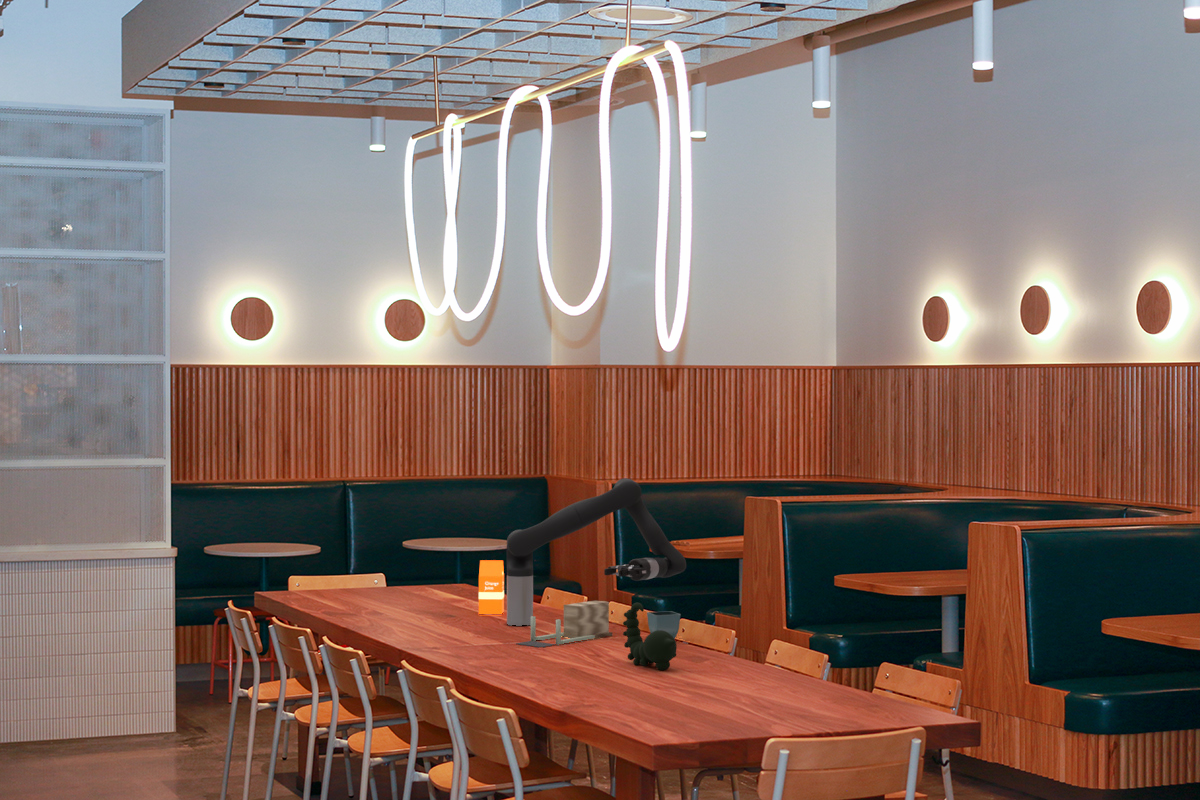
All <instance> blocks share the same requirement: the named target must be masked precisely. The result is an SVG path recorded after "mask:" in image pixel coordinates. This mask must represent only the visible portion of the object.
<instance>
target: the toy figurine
mask: <svg viewBox="0 0 1200 800" xmlns="http://www.w3.org/2000/svg"><path fill="white" fill-rule="evenodd" d="M639 611H641V612H644V605H643V604H642V603H641V602H635V603H632V604H631V606H630V609H628V610H627V611H626V612H624V613H623V617H624V618H626V620H624V621H623V623H622V624H623V626H624V627H626V631H623V633H622V635H623V636H624V637H627V640H626V641H625V642H624V648H625V649H626V648H627V649H628V648H629V653H628V654H627V659H628V660H629V661H632V662H633V665H635V666H639V665H641V666H643V667H647V666H648V665H653V664H655V668H656V669H657V670H659V671H666V670H668V669H669V668H670V667H671V660H672V659H674V658H676V657H677V648H678V646H677V643H676V642H677V641H676V638H675V639H674V638H673V636H672V635H671V634H669V633H668V632H666V631H663V630H657V631H654V632H652V633H651V632H650V633H649V634H648V635H647V636H646V638H645V639H644V641H643V638H642V636H641V629H640V627H639V625H640V622H639V621H640V620H639V619H638V612H639Z"/></svg>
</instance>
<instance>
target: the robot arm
mask: <svg viewBox="0 0 1200 800" xmlns="http://www.w3.org/2000/svg"><path fill="white" fill-rule="evenodd" d="M641 496H642V488H641V485H639V483H638V482H636V481H634V480H633V479H631V478H627V477H626V478H625V477H624V478H620V479H619V480H617V481H616V482H615V484H614V487H613V488H611V489H610V490H607V491H606V492H604V493H602V494H600V495H597V496H593V497H589V498H586V499H585V498H584V499H582V500H579V501H577V502H574V503H572V504H570V505H567V506H565V507H564V508H562V509H559V510H558V511H556V512H555V513H553V514H552V515H550V516H548V517H547V518H546V519H544V520H543V521H542V522H539V523H538V524H535V525H533V526H530V527H528V528H525V529H516V530H514V531H512V532H510V534H509V535H508V536H507V539H506V625H507V624H508V625H507V626H512V625H516V626H517V627H523V626H522V625H527V626H531V616H534V563H533V562H534V561H533V556H534V555H533V554H534V553H533V552H534V551H536V550H537V549H539V548H540V547H542V546H544V545H546V544H547V543H550V542H552V541H555V540H557V539H560V538H563V537H566V536H567V535H568V536H569V535H570V534H573V533H575V532H578V531H580V530H582V529H584V528H586V527H588V526H590V525H591V524H592V523H595V522H597V521H599V520H601V519H602V518H604V517H605V516H607V515H609V514H611V513H614V512H616V511H619V510H622V509H625V510H626V512H628V514H629V516H630V517H631V519H633V520H632V521H634V523H635V524H636V527H637V528H638V530H639V532H640V534H641V535H642V537H643V539H644V540H645V542H646V544H647V546H648V547H649V549H650V550H651V552H652V553H653V554H654V556H660V555H661V556H664V557H641V558H634V559H632V560H630V561H629V562H628V563H627V564H623V565H614V566H613V565H612V566H607V568H604V571H603V572H604V576H614V575H616V576H617V577H629V579H631V580H632V581H636V582H638V581H645V580H646V581H647V580H651V579H653V578H655V579H657V578H662V579H663V578H664V579H665V578H666V579H667V578H670V577H672V576H673V577H674V576H676V575H678V574H681V573H683V572H685V570H686V569H687V562H686V558H685V557H684V555H683V554H682V553H681V552H680V551H679V550H678V549H677V548H676V547H675V546H674V545H673V544H672V543H671V542H669V539H668V537H667V536H666V535H665V533H664V531H663V529H662V528H661V527H660V525H659V524H658V523H657V521H656V520H655V518H654V517H653V515H652V514H651V513H650V512H649V510H648V508H647V507H646V505H645V503H644V501H643V499H642V497H641ZM516 626H515V627H516Z"/></svg>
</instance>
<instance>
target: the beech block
mask: <svg viewBox="0 0 1200 800" xmlns="http://www.w3.org/2000/svg"><path fill="white" fill-rule="evenodd" d="M609 603H610V602H609V601H605V600H590V601H589V600H588V601H582V602H575V603H569V604H563V632H564V637H568V638H576V637H582V636H588V635H594V634H600V633H606V632H610V631H609V630H610V627H609V625H610V624H609V622H610V619H609V617H610V615H609V613H610V604H609ZM564 637H563V638H564Z"/></svg>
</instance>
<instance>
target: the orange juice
mask: <svg viewBox="0 0 1200 800" xmlns="http://www.w3.org/2000/svg"><path fill="white" fill-rule="evenodd" d="M504 568H505V567H504V560H496V559H493V560H492V559H491V560H487V559H485V560H483V559H482V560H479V573H478V615H479V614H502V613H503V612H504V613H505V573H504V571H505V570H504ZM504 613H503V614H504Z"/></svg>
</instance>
